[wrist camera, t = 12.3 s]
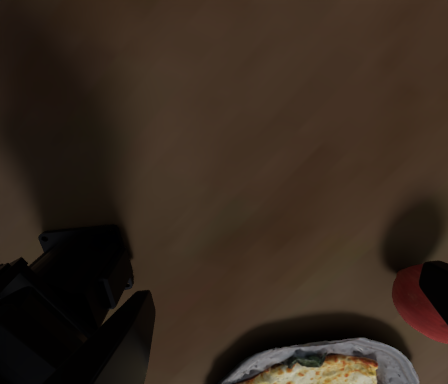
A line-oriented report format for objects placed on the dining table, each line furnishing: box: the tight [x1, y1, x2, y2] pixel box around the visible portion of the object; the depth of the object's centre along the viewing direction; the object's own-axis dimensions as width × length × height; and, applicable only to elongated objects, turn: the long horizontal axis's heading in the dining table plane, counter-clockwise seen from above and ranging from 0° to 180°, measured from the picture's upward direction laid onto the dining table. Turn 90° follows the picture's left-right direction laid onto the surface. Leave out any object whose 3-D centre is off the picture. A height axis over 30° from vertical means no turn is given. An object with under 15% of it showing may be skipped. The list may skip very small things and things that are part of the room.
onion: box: [392, 264, 448, 344], centre depth 19 cm, size 6×6×8 cm
